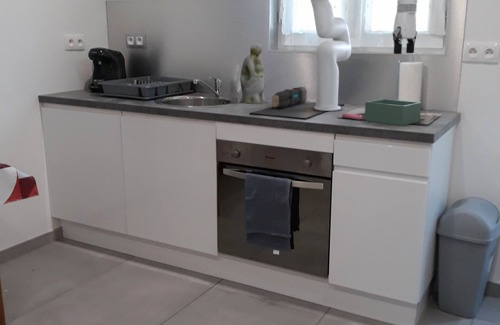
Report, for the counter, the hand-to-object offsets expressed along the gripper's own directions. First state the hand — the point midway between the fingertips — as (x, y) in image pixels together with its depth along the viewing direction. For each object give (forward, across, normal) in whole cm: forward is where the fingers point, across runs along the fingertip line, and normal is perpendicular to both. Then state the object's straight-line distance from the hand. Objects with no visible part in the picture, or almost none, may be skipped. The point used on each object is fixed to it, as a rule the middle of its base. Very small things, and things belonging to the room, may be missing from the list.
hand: (403, 53), depth 211 cm
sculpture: (+28, +2, -84) cm, 89 cm away
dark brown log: (+28, +1, -60) cm, 66 cm away
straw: (+27, +10, -16) cm, 34 cm away
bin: (+27, +4, -1) cm, 28 cm away
